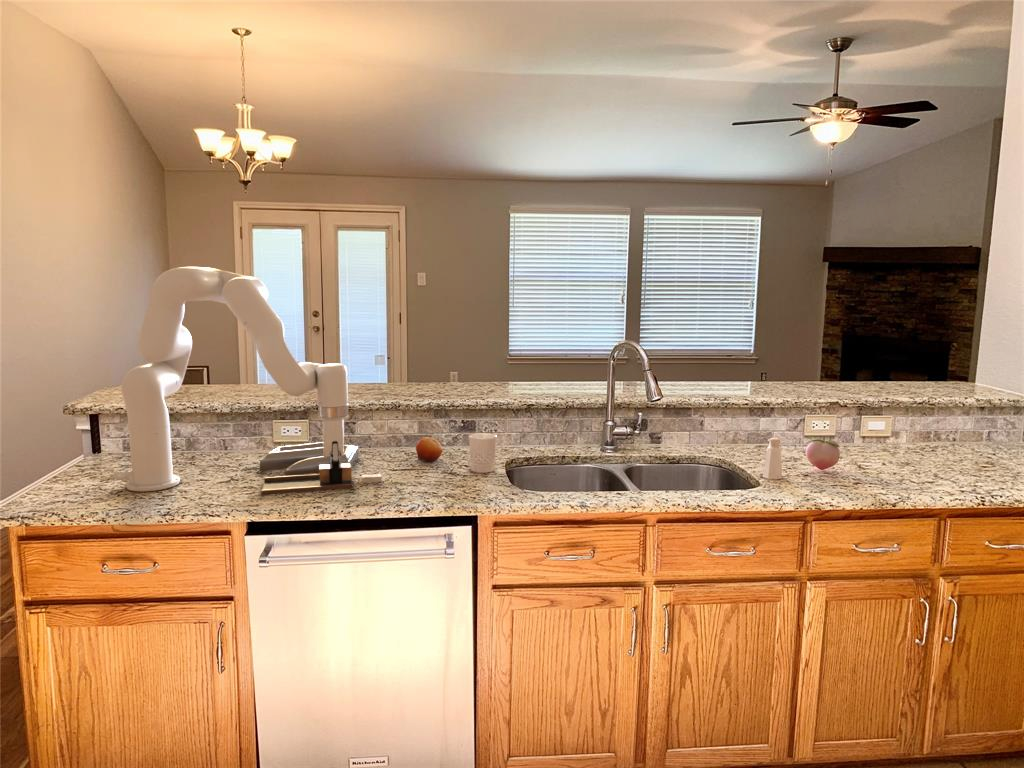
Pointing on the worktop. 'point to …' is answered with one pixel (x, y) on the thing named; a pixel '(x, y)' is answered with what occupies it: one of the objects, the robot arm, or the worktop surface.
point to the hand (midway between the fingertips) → (335, 479)
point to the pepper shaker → (773, 460)
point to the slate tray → (297, 484)
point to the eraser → (325, 474)
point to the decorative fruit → (822, 453)
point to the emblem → (303, 458)
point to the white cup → (482, 452)
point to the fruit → (428, 449)
